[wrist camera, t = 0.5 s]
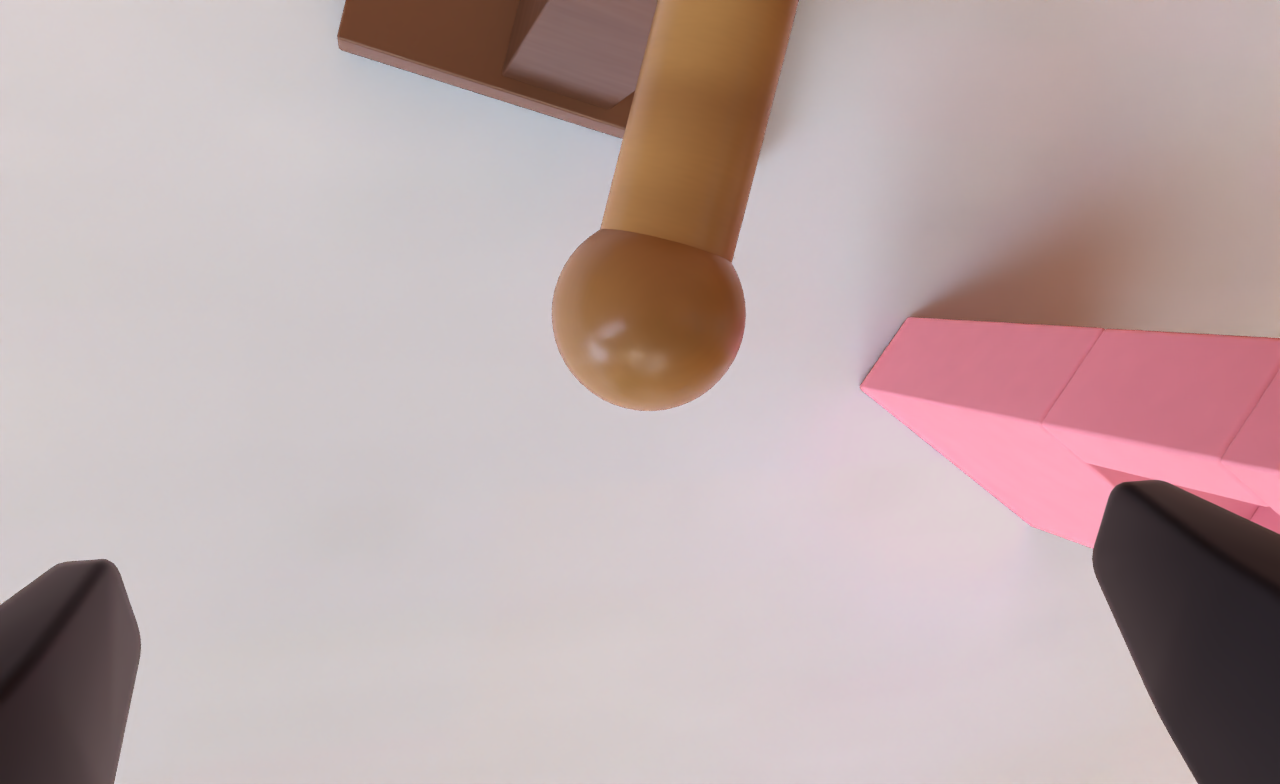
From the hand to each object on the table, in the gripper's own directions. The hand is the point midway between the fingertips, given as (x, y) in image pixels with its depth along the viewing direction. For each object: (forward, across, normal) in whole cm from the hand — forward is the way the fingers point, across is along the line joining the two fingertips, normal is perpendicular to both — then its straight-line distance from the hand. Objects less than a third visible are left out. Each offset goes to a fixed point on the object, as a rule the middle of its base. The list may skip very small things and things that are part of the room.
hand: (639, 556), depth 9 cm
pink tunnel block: (+14, -10, +8) cm, 19 cm away
